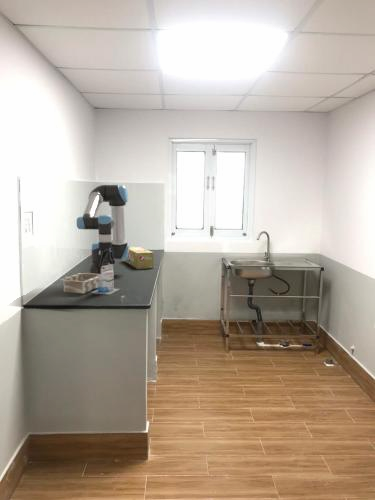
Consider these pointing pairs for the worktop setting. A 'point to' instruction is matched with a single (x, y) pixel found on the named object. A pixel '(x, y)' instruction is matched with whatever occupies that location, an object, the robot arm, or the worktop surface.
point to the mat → (105, 292)
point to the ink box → (106, 280)
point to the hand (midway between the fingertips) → (105, 276)
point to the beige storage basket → (80, 282)
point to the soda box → (140, 258)
